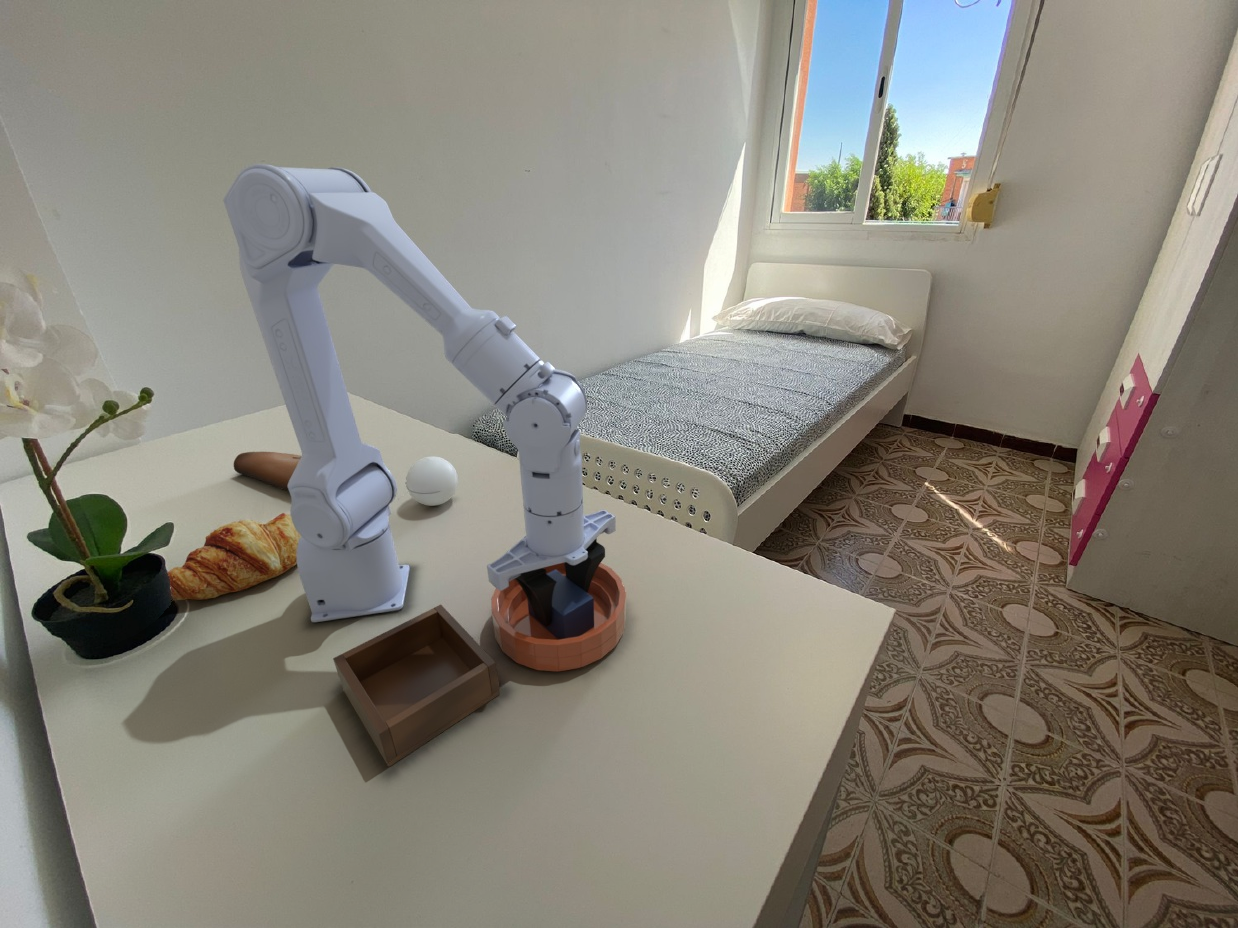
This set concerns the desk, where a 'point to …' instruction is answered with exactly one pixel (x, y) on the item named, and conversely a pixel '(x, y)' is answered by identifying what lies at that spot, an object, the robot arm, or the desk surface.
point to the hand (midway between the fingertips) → (560, 610)
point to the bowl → (541, 647)
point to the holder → (416, 681)
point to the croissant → (236, 558)
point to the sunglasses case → (268, 467)
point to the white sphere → (431, 481)
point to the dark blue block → (568, 609)
